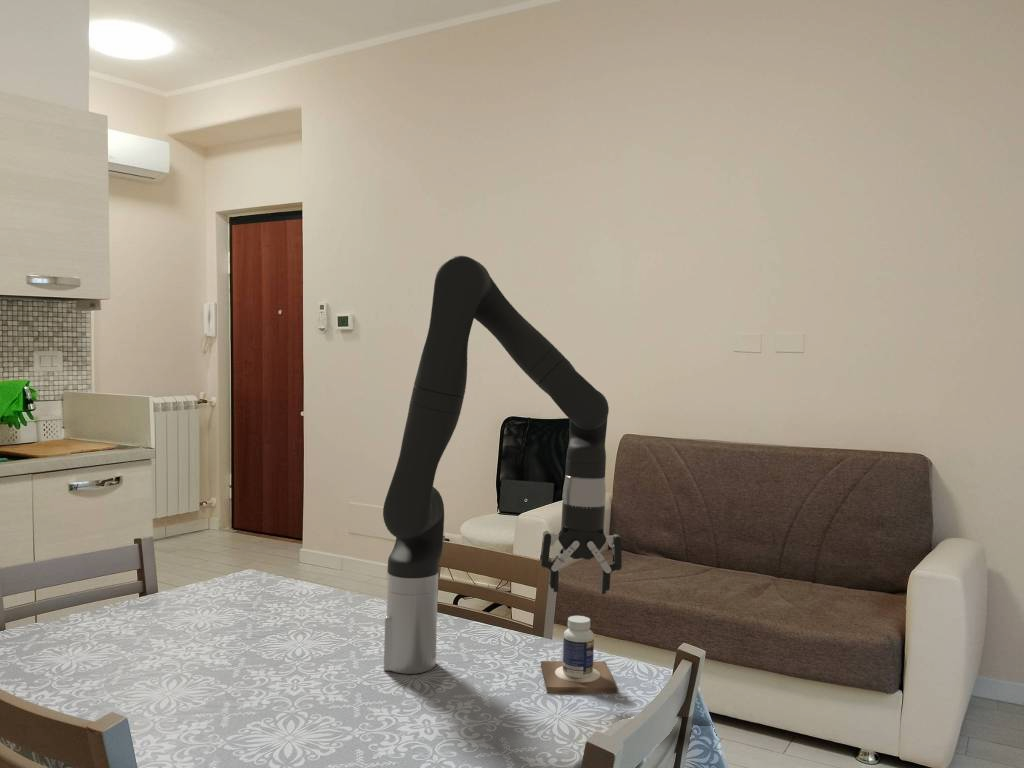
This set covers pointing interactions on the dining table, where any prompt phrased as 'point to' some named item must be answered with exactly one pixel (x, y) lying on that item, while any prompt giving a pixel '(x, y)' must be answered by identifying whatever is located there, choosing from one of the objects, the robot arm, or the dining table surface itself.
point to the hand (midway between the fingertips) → (579, 591)
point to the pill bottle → (578, 648)
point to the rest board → (577, 679)
